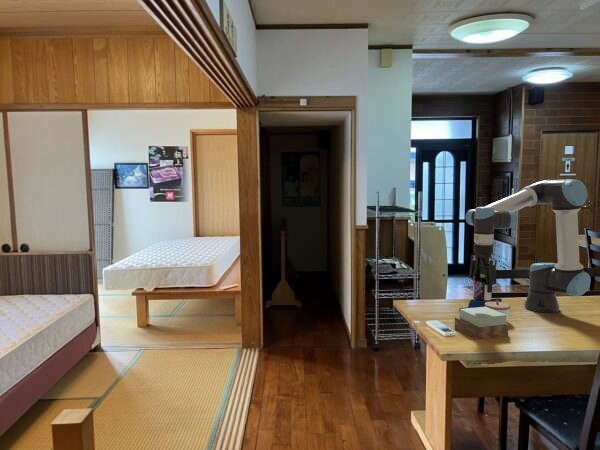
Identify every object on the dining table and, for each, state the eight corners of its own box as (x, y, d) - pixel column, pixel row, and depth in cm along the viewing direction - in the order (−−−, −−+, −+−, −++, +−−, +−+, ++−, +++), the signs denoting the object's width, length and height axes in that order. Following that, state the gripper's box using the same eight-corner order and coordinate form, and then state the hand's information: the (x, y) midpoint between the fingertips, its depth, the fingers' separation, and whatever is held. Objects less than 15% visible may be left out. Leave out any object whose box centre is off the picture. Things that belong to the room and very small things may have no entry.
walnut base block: (483, 325, 192) (483, 314, 192) (507, 336, 178) (508, 324, 177) (454, 328, 188) (454, 317, 188) (477, 340, 174) (477, 328, 173)
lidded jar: (511, 319, 198) (512, 299, 197) (508, 326, 189) (508, 305, 188) (486, 316, 204) (487, 296, 203) (482, 322, 195) (482, 301, 194)
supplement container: (473, 297, 186) (474, 273, 185) (490, 298, 183) (491, 274, 182) (472, 301, 180) (473, 276, 179) (490, 302, 177) (491, 278, 176)
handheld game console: (488, 309, 215) (488, 291, 214) (502, 317, 202) (503, 298, 201) (457, 310, 214) (458, 292, 213) (470, 318, 201) (470, 299, 200)
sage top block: (485, 315, 190) (485, 306, 190) (506, 324, 177) (506, 315, 177) (459, 317, 187) (459, 309, 186) (479, 327, 174) (479, 317, 174)
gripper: (461, 241, 188) (459, 292, 190) (492, 247, 169) (490, 304, 171) (476, 240, 190) (474, 291, 192) (508, 246, 171) (506, 303, 173)
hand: (481, 297), depth 181 cm, fingers closed on supplement container, 7 cm apart
